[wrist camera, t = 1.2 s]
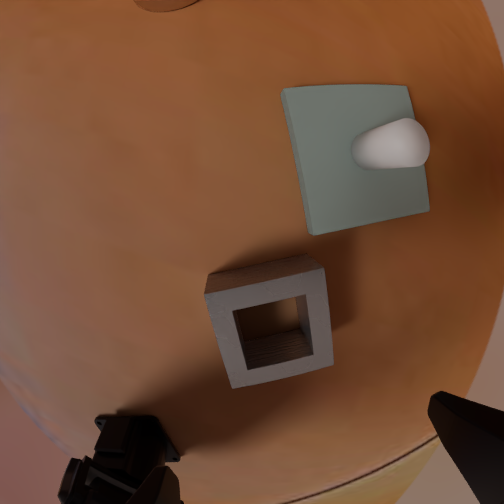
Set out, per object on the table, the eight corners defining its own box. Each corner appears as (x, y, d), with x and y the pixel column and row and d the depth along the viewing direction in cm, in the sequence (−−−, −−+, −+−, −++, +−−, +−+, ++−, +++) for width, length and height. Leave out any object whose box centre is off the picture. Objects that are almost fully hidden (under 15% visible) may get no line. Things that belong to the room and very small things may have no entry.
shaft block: (420, 209, 18) (477, 219, 12) (308, 232, 18) (344, 253, 12) (397, 90, 16) (448, 66, 10) (280, 94, 16) (304, 54, 10)
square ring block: (318, 338, 20) (334, 364, 16) (230, 358, 19) (232, 388, 16) (306, 253, 18) (324, 267, 15) (208, 274, 18) (203, 294, 15)
